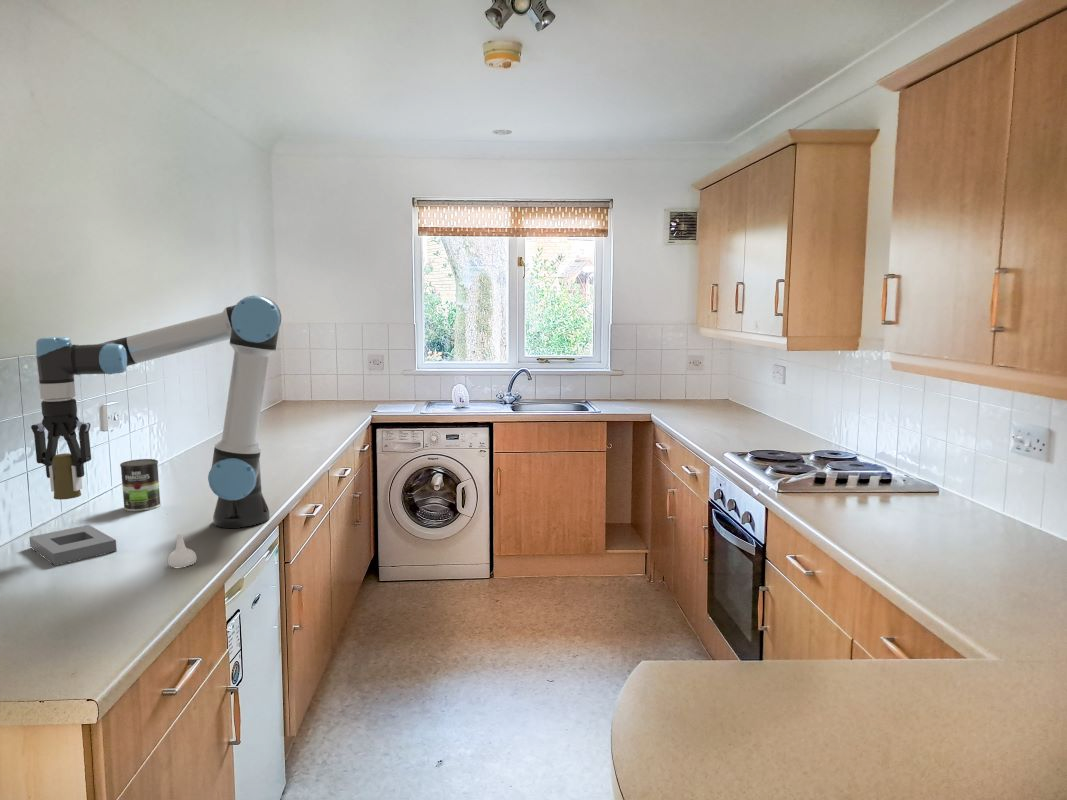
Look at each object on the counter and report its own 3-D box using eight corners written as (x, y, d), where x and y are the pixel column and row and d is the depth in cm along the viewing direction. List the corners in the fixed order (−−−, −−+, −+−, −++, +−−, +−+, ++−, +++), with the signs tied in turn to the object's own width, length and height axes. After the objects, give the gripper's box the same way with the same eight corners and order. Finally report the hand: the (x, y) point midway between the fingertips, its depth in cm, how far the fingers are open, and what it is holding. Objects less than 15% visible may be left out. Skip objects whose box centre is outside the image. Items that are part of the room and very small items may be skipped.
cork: (75, 492, 202) (71, 450, 200) (85, 495, 198) (81, 453, 197) (49, 497, 197) (45, 454, 196) (59, 500, 193) (55, 457, 192)
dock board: (116, 551, 198) (115, 539, 197) (54, 565, 188) (53, 553, 187) (89, 535, 211) (88, 524, 211) (30, 548, 201) (29, 536, 201)
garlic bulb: (189, 560, 192) (185, 529, 191) (202, 563, 188) (198, 531, 187) (164, 567, 187) (160, 535, 186) (176, 571, 183) (172, 537, 182)
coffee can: (157, 510, 236) (154, 464, 234) (120, 512, 233) (116, 467, 231) (164, 501, 246) (160, 457, 244) (128, 504, 243) (124, 460, 241)
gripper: (102, 396, 198) (110, 485, 201) (31, 397, 198) (39, 486, 201) (86, 400, 191) (95, 493, 194) (12, 401, 190) (21, 494, 193)
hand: (66, 489), depth 197 cm, fingers closed on cork, 5 cm apart
